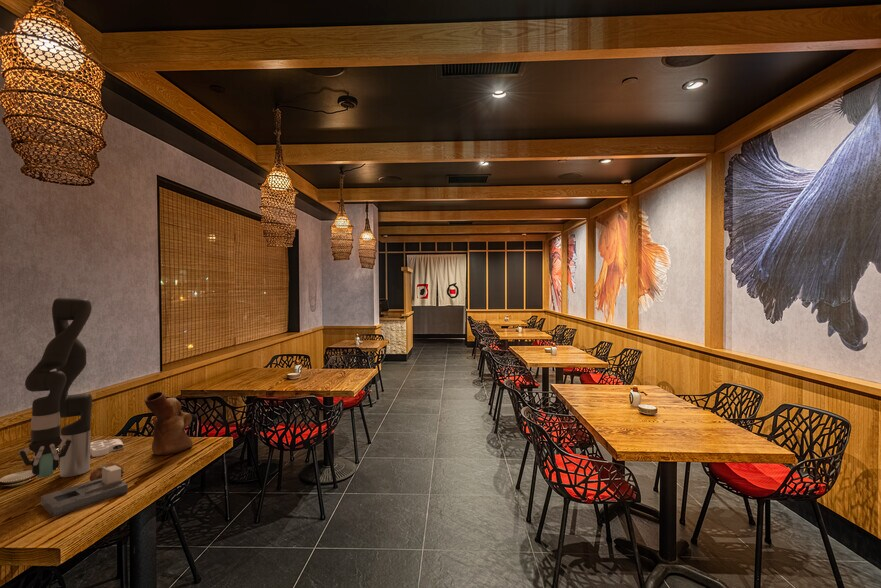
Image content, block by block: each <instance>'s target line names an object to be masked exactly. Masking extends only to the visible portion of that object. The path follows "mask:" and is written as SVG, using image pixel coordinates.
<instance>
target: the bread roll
mask: <svg viewBox="0 0 881 588" xmlns="http://www.w3.org/2000/svg"><path fill="white" fill-rule="evenodd" d="M114 465H116V466H118V467H120V468H121V476H122V475H123V474H124V473H125V472H124V470H125V468H124V467H123V465H121V464H118V463H115V462H114V463H113V462H104V463H102V464H100V465H98V466H97V467H95V469H93V471H92V472H91V473H90V475H89V482H90V481H93V480H96V479H100V478H102V467H106V468H107V467H110V466H114Z"/></svg>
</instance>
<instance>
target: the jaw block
mask: <svg viewBox="0 0 881 588" xmlns="http://www.w3.org/2000/svg"><path fill="white" fill-rule="evenodd" d="M120 480H122V475H121V468H120V467H118V466H116V465H114V466H110V467H107V468H106V467H102V482H103V483H104V484H106V485H107V484H110V483H114V482H117V481H120Z"/></svg>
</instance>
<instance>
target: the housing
mask: <svg viewBox="0 0 881 588" xmlns="http://www.w3.org/2000/svg"><path fill="white" fill-rule="evenodd" d="M128 484H129V483H126V482H125V481H123V480H122V479H121V480H120V481H117V482H114V483H110V484H107V485H106V484H104V483H103V482H102V478H100V479H96V480H93V481H90V480H89V481H87V482H83V483H80V484H76V485H74V486H70V487H67V488H66V487H65V488H63V489H60V490H57V491H54V492H53V491H52V492H49V493H47V494H43V495H41V496H40V506H41V507H42V508H43V509H44V511H46V512H47V513H48V514H49V515H50V516H51V517H52V518H53V519H54V518H57V517H59V516H62V515H65V514H69V513H71V512H74V511H77V510H80V509H84V508H86V507H89V506H92V505H95V504H98V503H101V502H104V501H106V500H110V499H112V498H116V497H118V496H121V495H125V494H127V493H128V492H129V491H128V490H129V489H128V486H129V485H128Z"/></svg>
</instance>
